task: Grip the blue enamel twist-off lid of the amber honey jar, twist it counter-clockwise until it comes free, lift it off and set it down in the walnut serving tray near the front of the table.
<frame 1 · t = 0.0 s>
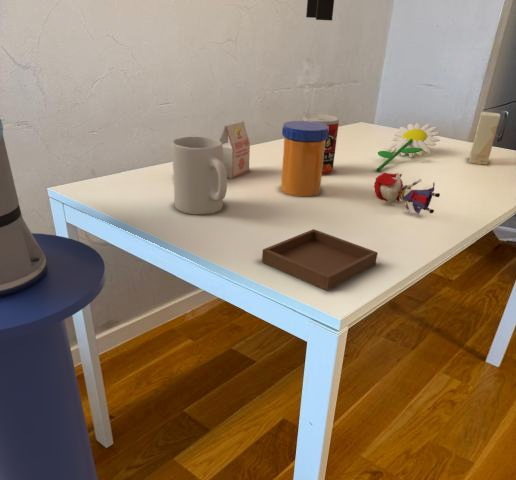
hand: (318, 19, 92), 29 cm above the table, tool pointing down, fingers open, 13 cm apart
mug: (204, 210, 89), on the table
figurine: (401, 208, 94), on the table
decorative flower: (399, 159, 125), on the table
honey jar: (300, 190, 100), on the table
box 2: (477, 162, 126), on the table
gable top carton: (233, 173, 109), on the table
tray: (319, 263, 72), on the table
jar lid: (305, 127, 94), point 12 cm above the table, screwed on, not yet turned
canned food: (315, 171, 113), on the table
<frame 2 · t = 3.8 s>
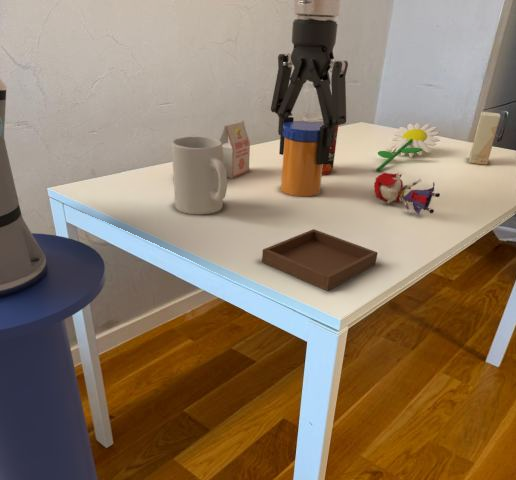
hand: (303, 158, 97), 6 cm above the table, tool pointing down, fingers closed on jar lid, 8 cm apart
jar lid: (305, 127, 94), point 12 cm above the table, screwed on, not yet turned, touching gripper
everything else where it was.
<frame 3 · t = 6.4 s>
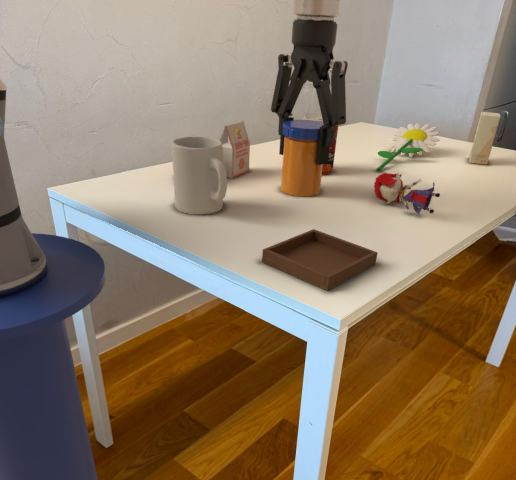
hand: (303, 158, 97), 6 cm above the table, tool pointing down, fingers closed on jar lid, 8 cm apart
jar lid: (305, 126, 94), point 12 cm above the table, off its thread, touching gripper
everything else where it was.
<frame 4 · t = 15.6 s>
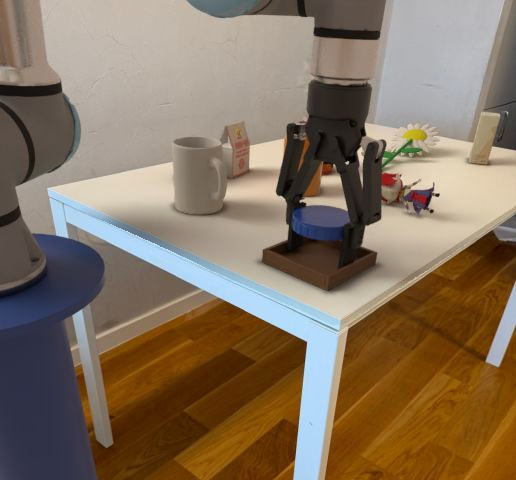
hand: (319, 257, 72), 1 cm above the table, tool pointing down, fingers closed on jar lid, 8 cm apart
jar lid: (323, 218, 69), point 7 cm above the table, off its thread, touching gripper
everything else where it was.
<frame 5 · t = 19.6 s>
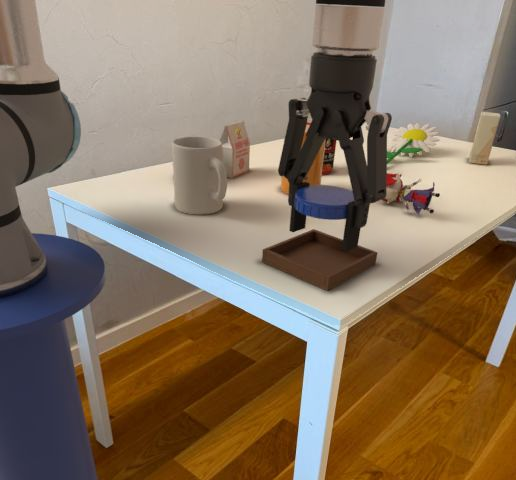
hand: (322, 238, 70), 4 cm above the table, tool pointing down, fingers closed on jar lid, 8 cm apart
jar lid: (327, 197, 67), point 10 cm above the table, off its thread, touching gripper
everything else where it was.
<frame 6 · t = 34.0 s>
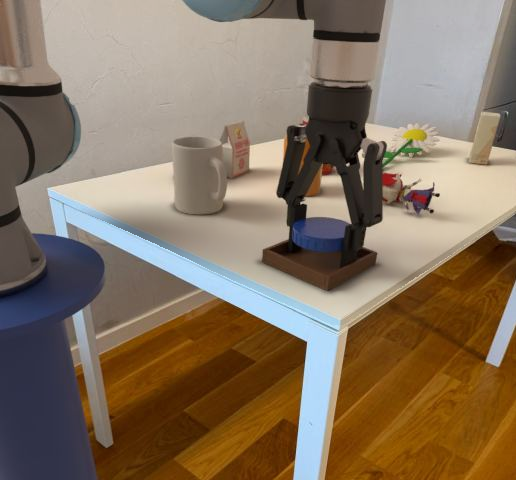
hand: (320, 258, 72), 1 cm above the table, tool pointing down, fingers closed on jar lid, 9 cm apart
jar lid: (323, 229, 69), point 5 cm above the table, off its thread, touching gripper
everything else where it was.
when the fingers open (4 cm above the table, at t = 35.2 s): jar lid drops 6 cm, resting on tray.
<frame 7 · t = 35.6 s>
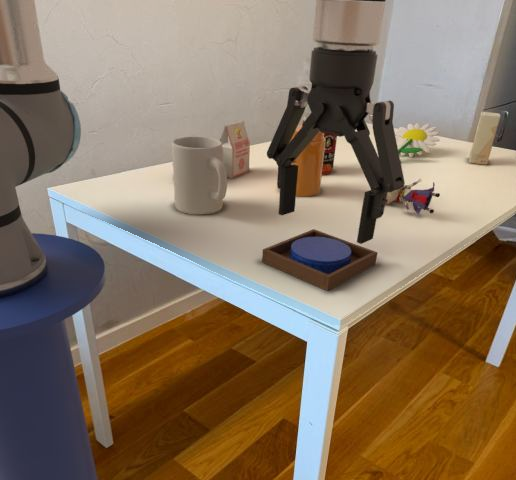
hand: (323, 226, 69), 6 cm above the table, tool pointing down, fingers open, 13 cm apart
jar lid: (320, 250, 71), point 2 cm above the table, off its thread, touching tray
everything else where it was.
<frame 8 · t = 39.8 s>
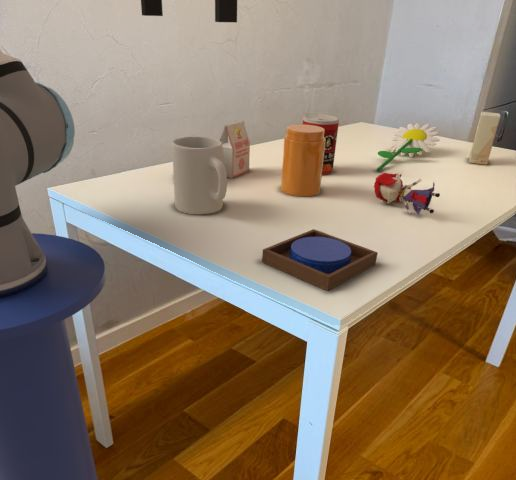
hand: (187, 19, 60), 29 cm above the table, tool pointing down, fingers open, 13 cm apart
nothing on the table moved.
at the end: jar lid inside the target area in the tray (0.0 cm from its centre), point 2.0 cm above the tray's base; jar lid came off its thread; the gripper is holding nothing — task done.
